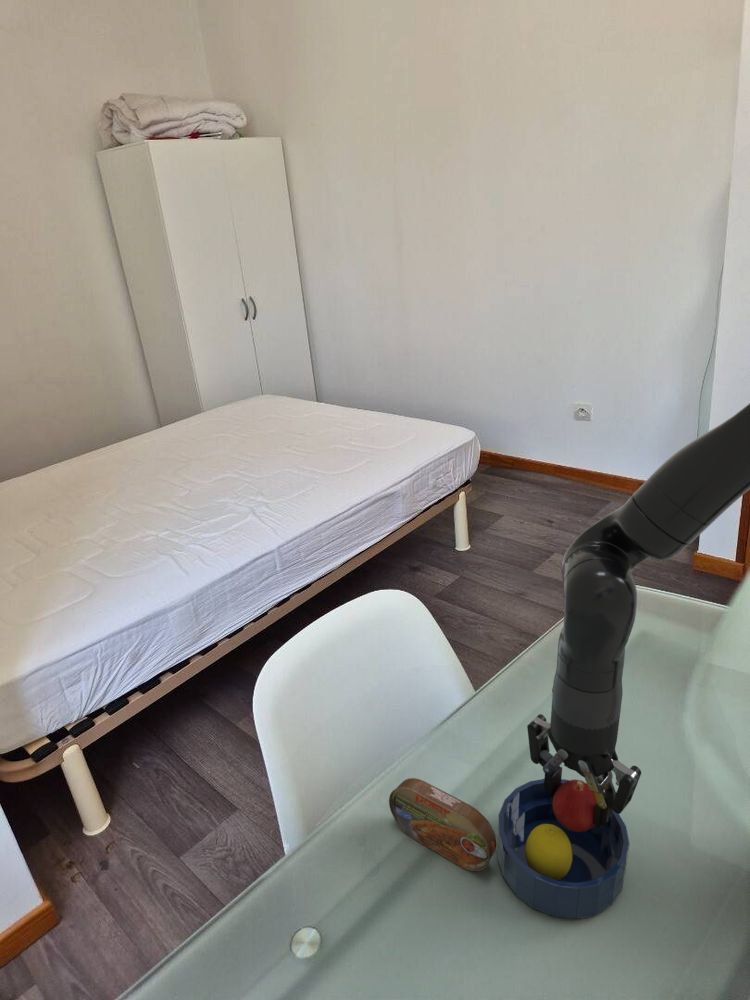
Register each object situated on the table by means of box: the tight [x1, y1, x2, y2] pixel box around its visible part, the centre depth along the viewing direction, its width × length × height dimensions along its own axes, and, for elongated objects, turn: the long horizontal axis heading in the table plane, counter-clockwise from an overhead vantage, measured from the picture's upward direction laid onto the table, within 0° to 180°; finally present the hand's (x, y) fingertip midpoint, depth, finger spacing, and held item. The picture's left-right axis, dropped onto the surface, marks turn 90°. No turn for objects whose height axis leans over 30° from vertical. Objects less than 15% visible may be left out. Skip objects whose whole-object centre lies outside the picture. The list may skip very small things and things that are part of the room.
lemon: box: [525, 824, 572, 881], centre depth 83 cm, size 6×6×8 cm
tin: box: [388, 777, 497, 872], centre depth 88 cm, size 15×3×8 cm, turn 53°
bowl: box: [497, 778, 630, 920], centre depth 86 cm, size 15×15×6 cm
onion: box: [553, 779, 597, 832], centre depth 85 cm, size 6×6×8 cm
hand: (576, 806), depth 86 cm, fingers closed on onion, 6 cm apart
